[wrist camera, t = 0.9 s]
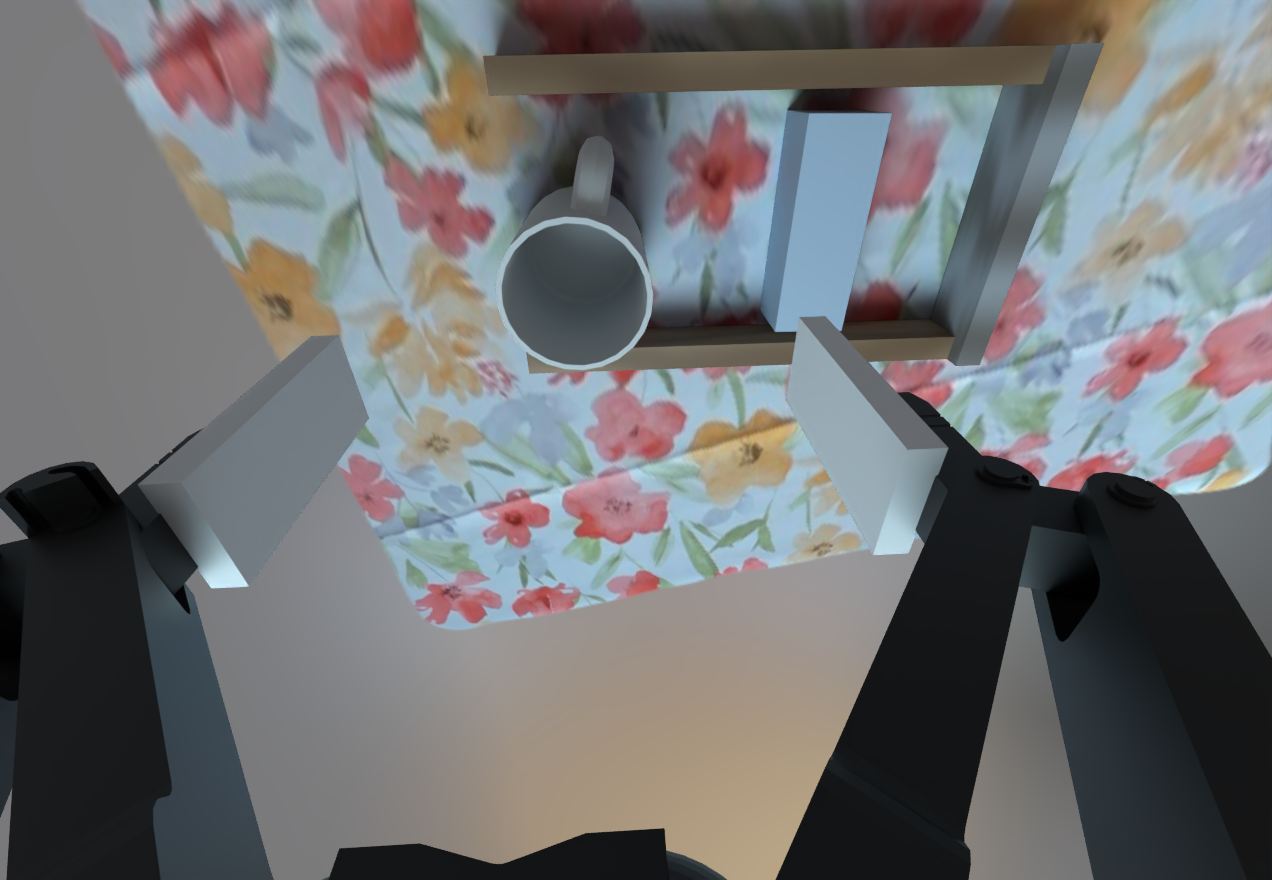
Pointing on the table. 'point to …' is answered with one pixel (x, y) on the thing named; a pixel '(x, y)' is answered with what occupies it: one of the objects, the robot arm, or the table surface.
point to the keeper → (820, 213)
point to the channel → (1020, 130)
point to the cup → (577, 272)
